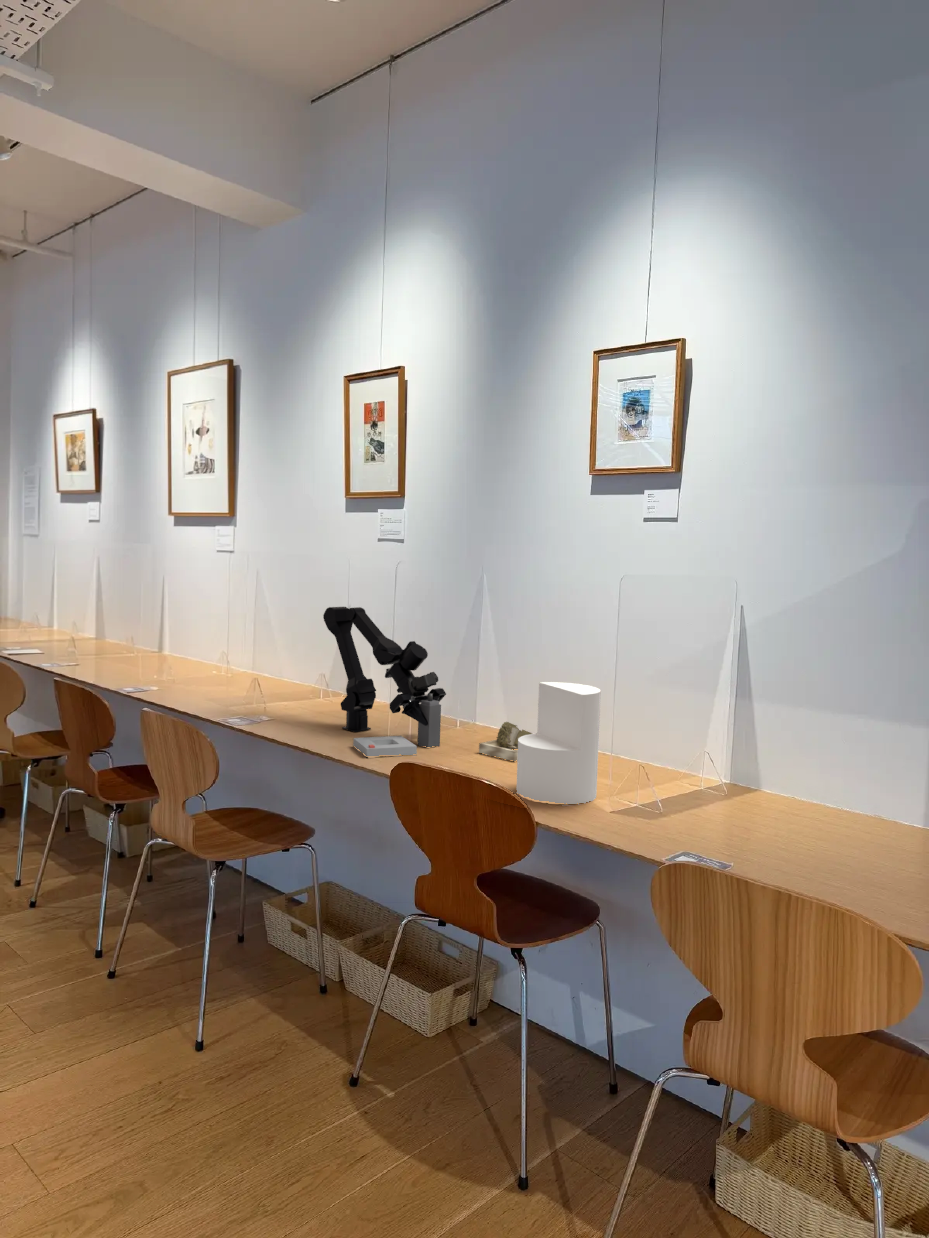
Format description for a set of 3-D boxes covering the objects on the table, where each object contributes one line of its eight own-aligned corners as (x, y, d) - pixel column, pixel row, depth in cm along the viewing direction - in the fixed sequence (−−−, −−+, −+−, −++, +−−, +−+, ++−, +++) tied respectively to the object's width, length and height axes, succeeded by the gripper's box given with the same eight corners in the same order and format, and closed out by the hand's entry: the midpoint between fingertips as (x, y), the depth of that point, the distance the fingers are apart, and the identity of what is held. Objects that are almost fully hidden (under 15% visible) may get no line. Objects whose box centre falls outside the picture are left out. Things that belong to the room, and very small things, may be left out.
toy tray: (478, 753, 251) (479, 743, 251) (527, 742, 266) (528, 733, 266) (514, 762, 242) (514, 751, 242) (563, 750, 257) (563, 740, 257)
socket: (353, 746, 255) (353, 736, 255) (400, 744, 260) (401, 733, 260) (366, 758, 242) (367, 747, 242) (416, 755, 247) (416, 744, 247)
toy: (553, 739, 252) (509, 722, 261) (542, 735, 247) (498, 718, 256) (543, 764, 252) (500, 746, 260) (532, 760, 246) (488, 742, 255)
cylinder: (572, 780, 225) (576, 681, 223) (611, 801, 208) (616, 693, 206) (503, 786, 218) (506, 683, 216) (537, 808, 201) (541, 696, 199)
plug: (417, 745, 259) (419, 693, 258) (428, 743, 262) (430, 692, 261) (428, 748, 256) (430, 695, 255) (439, 746, 259) (441, 694, 258)
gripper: (397, 666, 252) (425, 710, 246) (442, 660, 267) (469, 702, 261) (377, 690, 258) (404, 734, 252) (421, 683, 272) (448, 725, 266)
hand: (432, 723), depth 258 cm, fingers closed on plug, 5 cm apart
